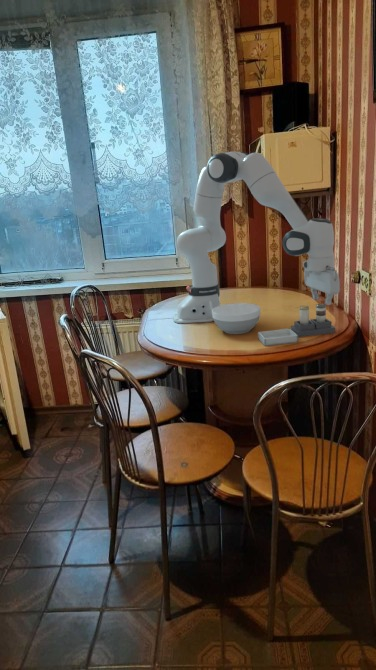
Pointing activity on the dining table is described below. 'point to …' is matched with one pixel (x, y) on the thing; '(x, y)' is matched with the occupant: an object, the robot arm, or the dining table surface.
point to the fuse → (304, 315)
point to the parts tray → (277, 337)
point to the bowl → (236, 317)
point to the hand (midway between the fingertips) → (321, 301)
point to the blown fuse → (320, 313)
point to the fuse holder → (313, 328)
